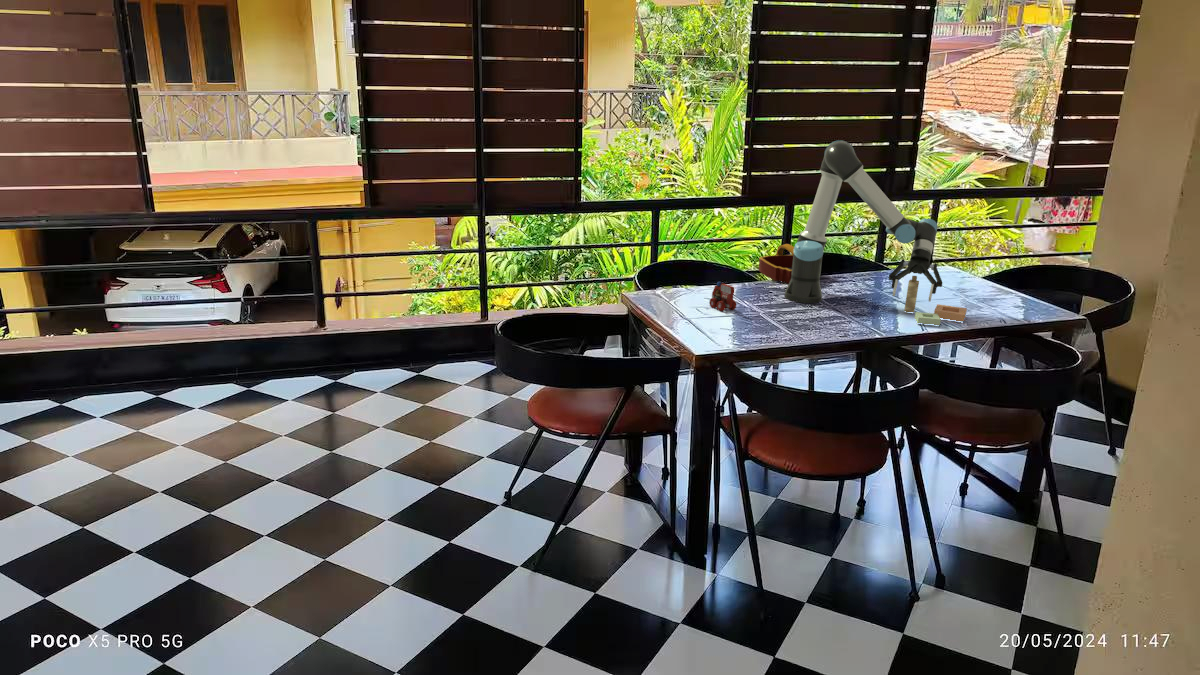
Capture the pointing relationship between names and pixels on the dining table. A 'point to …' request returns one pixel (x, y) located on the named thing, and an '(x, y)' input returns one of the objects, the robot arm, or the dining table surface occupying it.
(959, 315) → the orange square frame
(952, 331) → the dining table surface
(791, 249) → the decorative basket
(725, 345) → the dining table surface
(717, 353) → the dining table surface
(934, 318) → the green square ring
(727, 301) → the toy fire truck
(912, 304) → the peg block
